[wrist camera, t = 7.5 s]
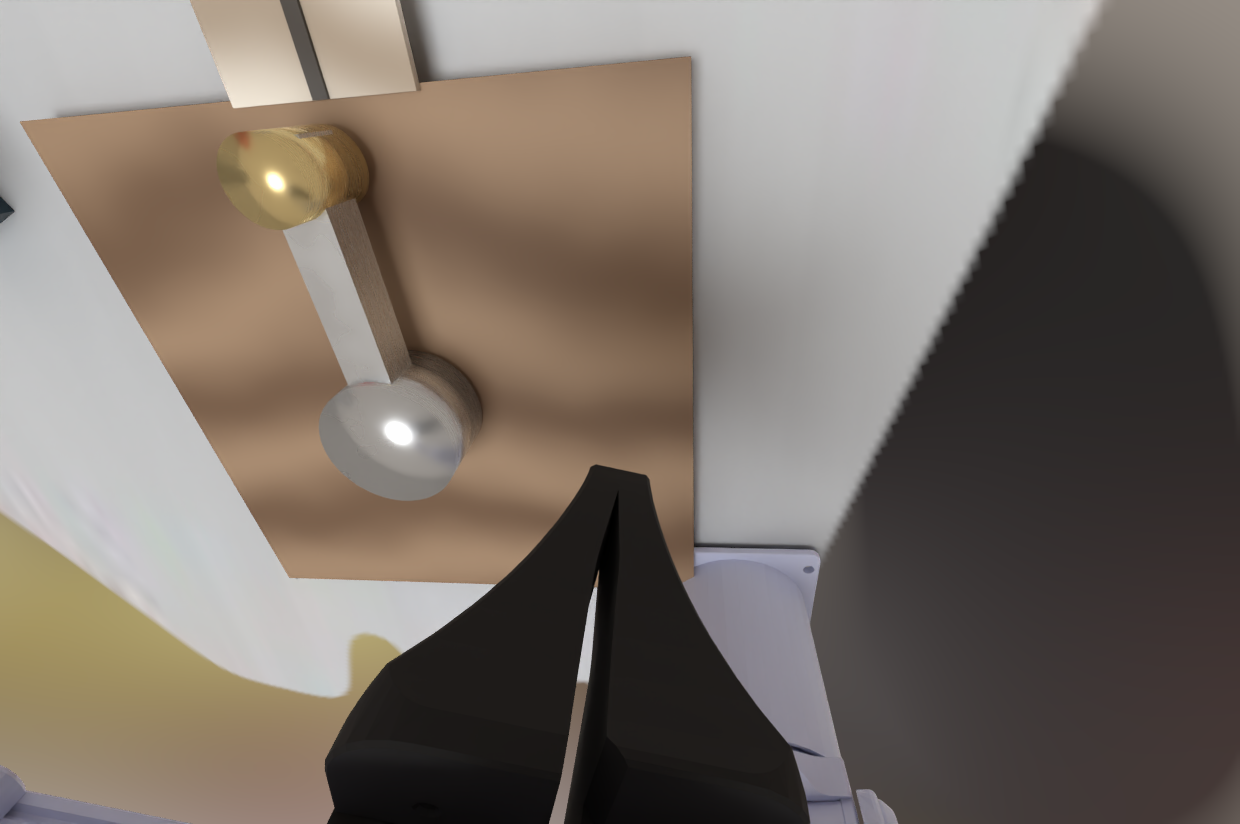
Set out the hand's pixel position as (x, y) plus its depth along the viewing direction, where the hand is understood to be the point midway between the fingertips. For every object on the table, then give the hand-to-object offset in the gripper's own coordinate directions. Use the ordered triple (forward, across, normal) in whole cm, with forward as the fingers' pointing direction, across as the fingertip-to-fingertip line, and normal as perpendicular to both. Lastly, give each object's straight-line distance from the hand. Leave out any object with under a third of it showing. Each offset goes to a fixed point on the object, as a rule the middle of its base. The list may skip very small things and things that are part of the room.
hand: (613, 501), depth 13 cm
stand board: (+9, +9, +3) cm, 13 cm away
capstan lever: (+8, +9, +1) cm, 12 cm away
